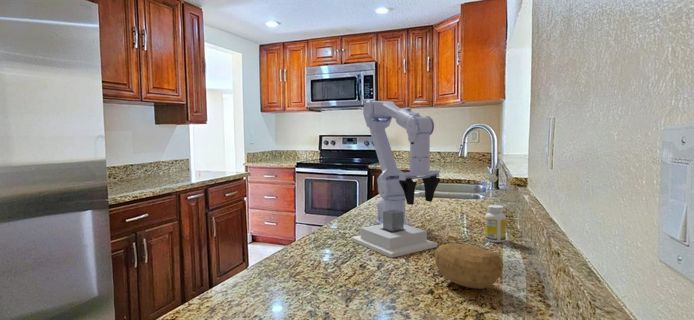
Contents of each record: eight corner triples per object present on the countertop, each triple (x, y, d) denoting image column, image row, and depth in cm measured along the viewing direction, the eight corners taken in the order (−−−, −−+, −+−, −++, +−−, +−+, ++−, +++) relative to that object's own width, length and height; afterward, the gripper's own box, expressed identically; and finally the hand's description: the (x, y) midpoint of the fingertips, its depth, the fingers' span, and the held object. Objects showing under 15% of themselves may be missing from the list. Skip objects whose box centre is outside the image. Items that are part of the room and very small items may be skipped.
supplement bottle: (502, 237, 107) (502, 204, 106) (508, 243, 101) (509, 208, 101) (482, 237, 107) (483, 204, 107) (488, 242, 102) (488, 208, 101)
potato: (450, 269, 82) (450, 234, 82) (512, 289, 72) (512, 249, 71) (422, 281, 76) (422, 243, 75) (486, 304, 65) (486, 260, 65)
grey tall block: (383, 239, 103) (383, 211, 102) (394, 237, 105) (394, 209, 104) (392, 243, 99) (392, 213, 99) (403, 240, 101) (403, 212, 101)
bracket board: (351, 240, 105) (351, 226, 105) (394, 232, 114) (394, 219, 114) (391, 257, 90) (391, 242, 90) (437, 246, 99) (437, 232, 99)
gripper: (410, 159, 101) (410, 207, 102) (447, 156, 109) (446, 201, 110) (394, 157, 107) (394, 203, 108) (429, 155, 115) (429, 198, 116)
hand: (419, 202), depth 110 cm, fingers open, 7 cm apart
